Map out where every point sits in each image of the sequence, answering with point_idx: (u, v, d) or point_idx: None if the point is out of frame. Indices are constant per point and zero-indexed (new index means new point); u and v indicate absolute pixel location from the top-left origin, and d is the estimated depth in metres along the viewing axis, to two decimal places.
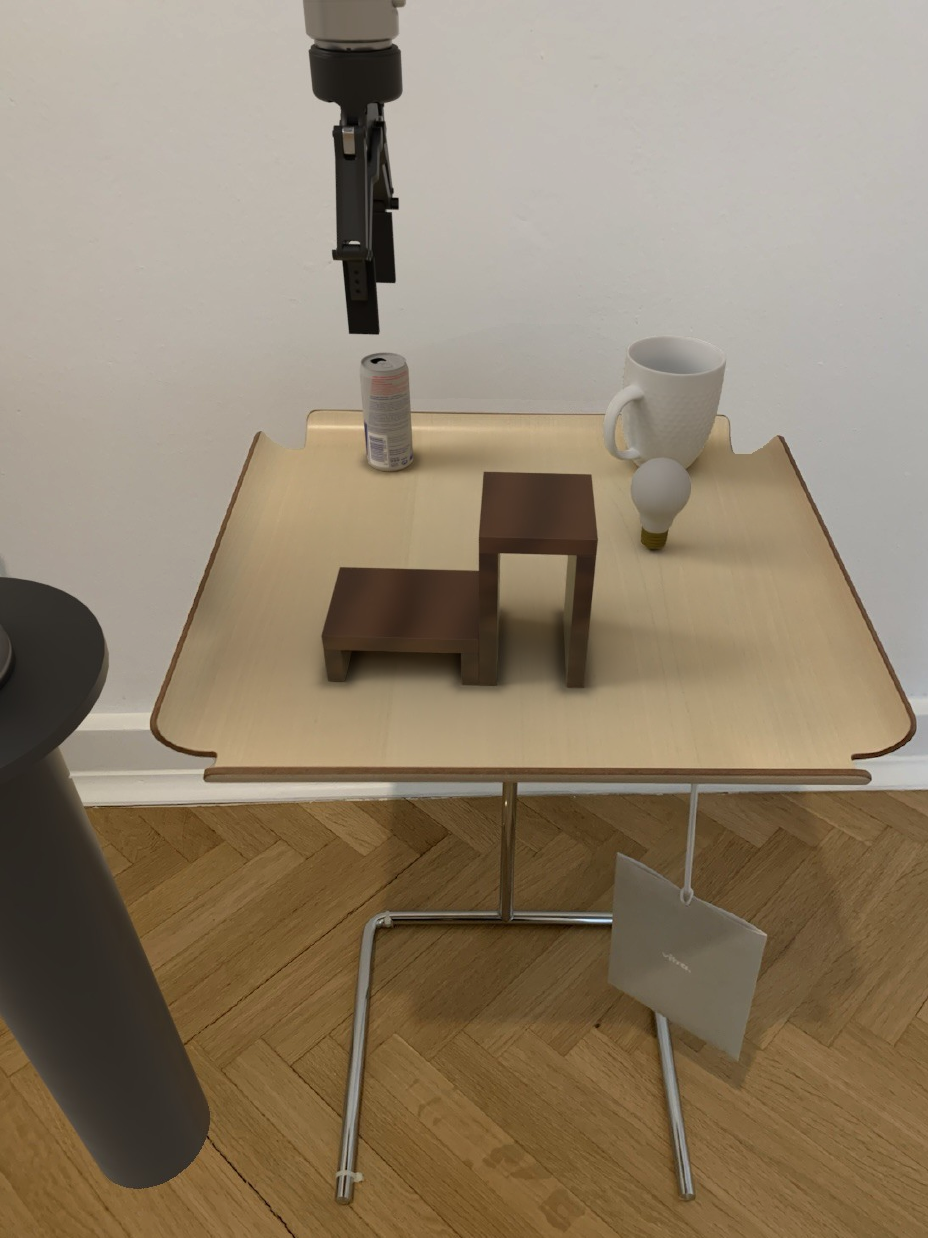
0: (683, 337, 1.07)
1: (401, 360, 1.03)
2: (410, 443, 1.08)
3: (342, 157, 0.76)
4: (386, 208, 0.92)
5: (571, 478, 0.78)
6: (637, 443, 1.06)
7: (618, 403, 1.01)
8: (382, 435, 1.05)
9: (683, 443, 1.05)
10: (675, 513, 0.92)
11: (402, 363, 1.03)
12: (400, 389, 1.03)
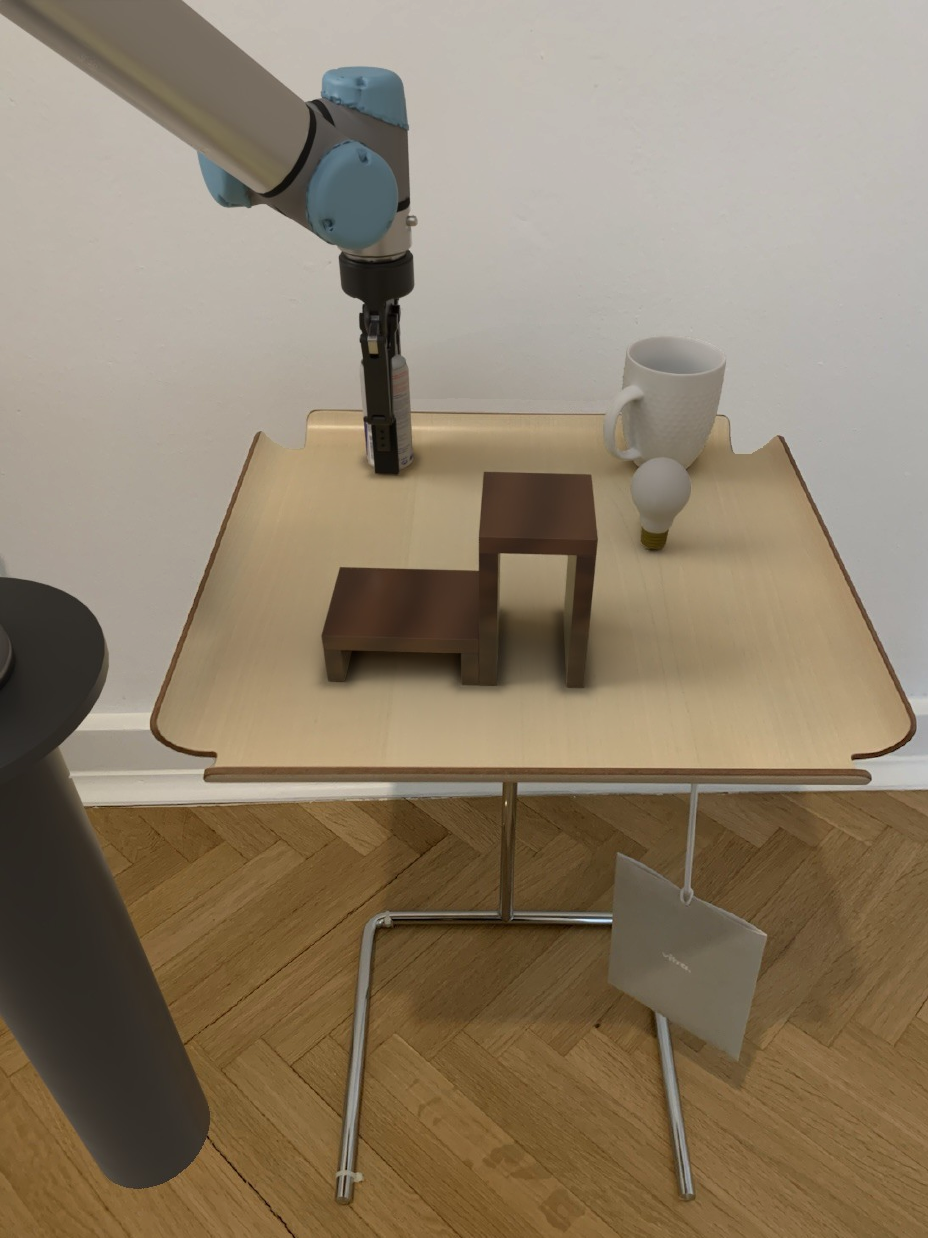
0: (683, 337, 1.07)
1: (401, 360, 1.03)
2: (410, 443, 1.08)
3: (368, 356, 0.96)
4: None
5: (571, 478, 0.78)
6: (637, 443, 1.06)
7: (618, 403, 1.01)
8: None
9: (683, 443, 1.05)
10: (675, 513, 0.92)
11: (402, 363, 1.03)
12: (400, 389, 1.03)
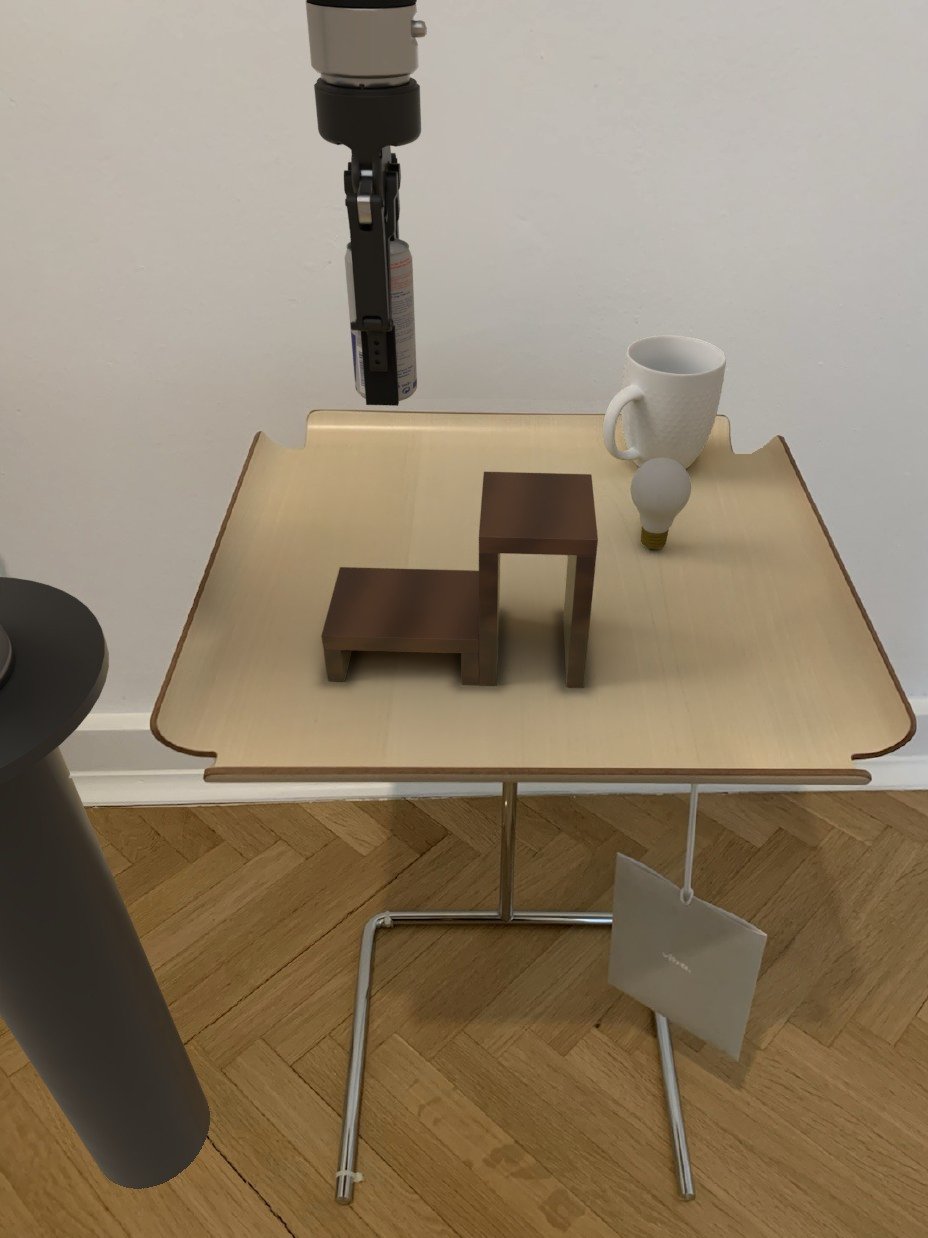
0: (683, 337, 1.07)
1: (402, 246, 0.75)
2: (414, 364, 0.80)
3: (357, 228, 0.68)
4: None
5: (571, 478, 0.78)
6: (637, 443, 1.06)
7: (618, 403, 1.01)
8: None
9: (683, 443, 1.05)
10: (675, 513, 0.92)
11: (404, 249, 0.75)
12: (402, 284, 0.75)
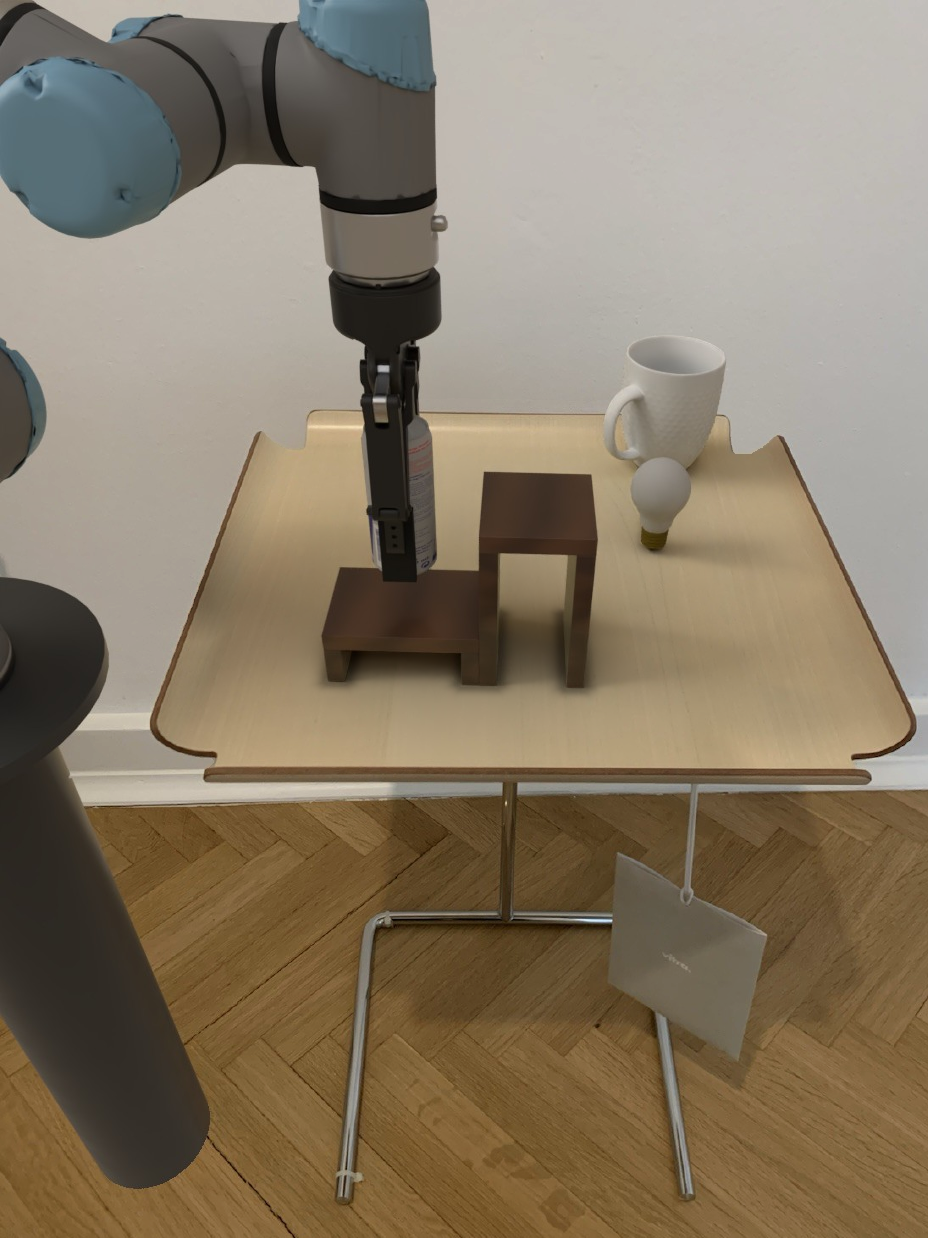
0: (683, 337, 1.07)
1: (421, 424, 0.72)
2: (433, 538, 0.76)
3: (373, 426, 0.64)
4: None
5: (571, 478, 0.78)
6: (637, 443, 1.06)
7: (618, 403, 1.01)
8: None
9: (683, 443, 1.05)
10: (675, 513, 0.92)
11: (423, 429, 0.71)
12: (421, 467, 0.71)
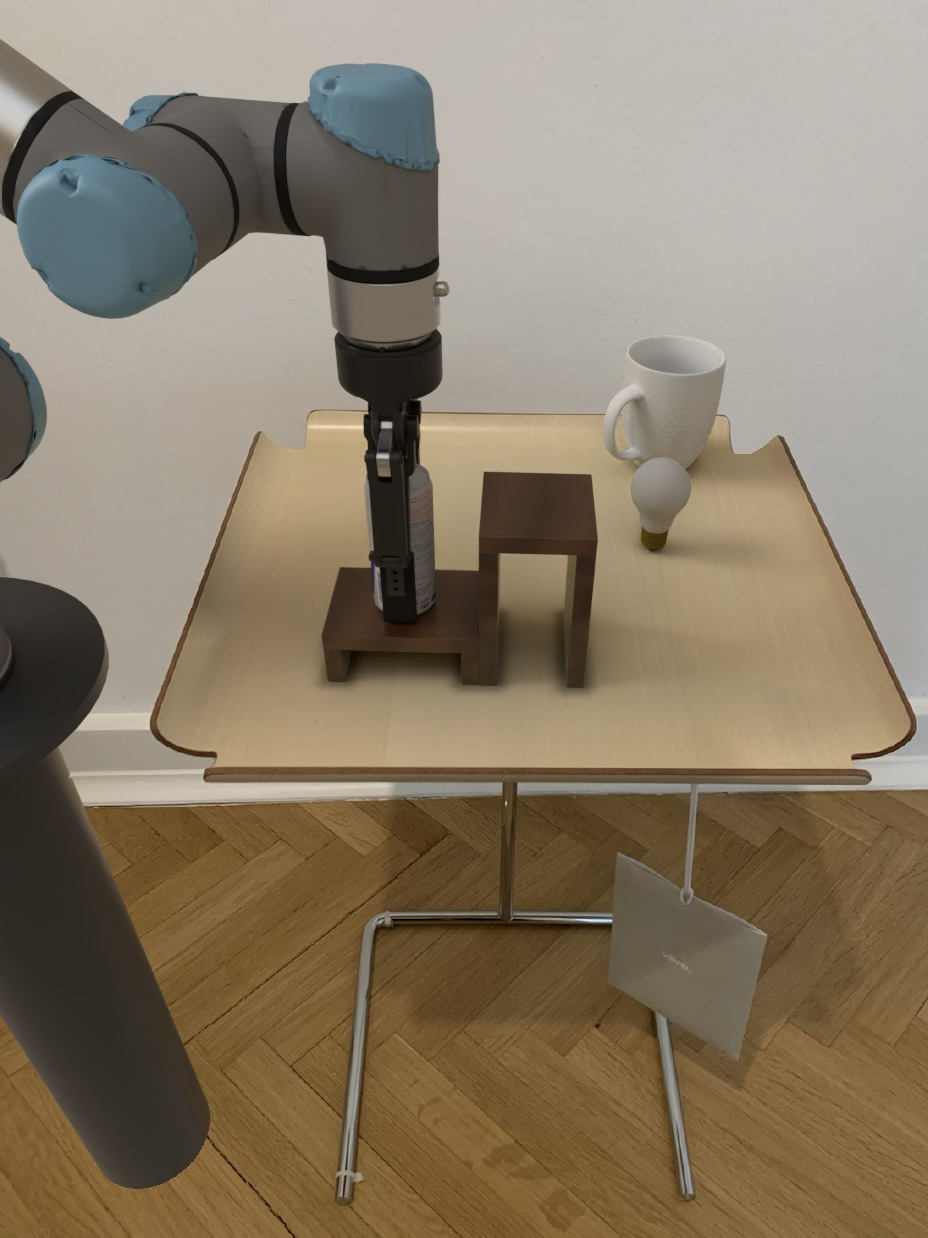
0: (683, 337, 1.07)
1: (422, 473, 0.74)
2: (433, 580, 0.79)
3: (376, 480, 0.67)
4: None
5: (571, 478, 0.78)
6: (637, 443, 1.06)
7: (618, 403, 1.01)
8: None
9: (683, 443, 1.05)
10: (675, 513, 0.92)
11: (424, 478, 0.74)
12: (422, 514, 0.74)
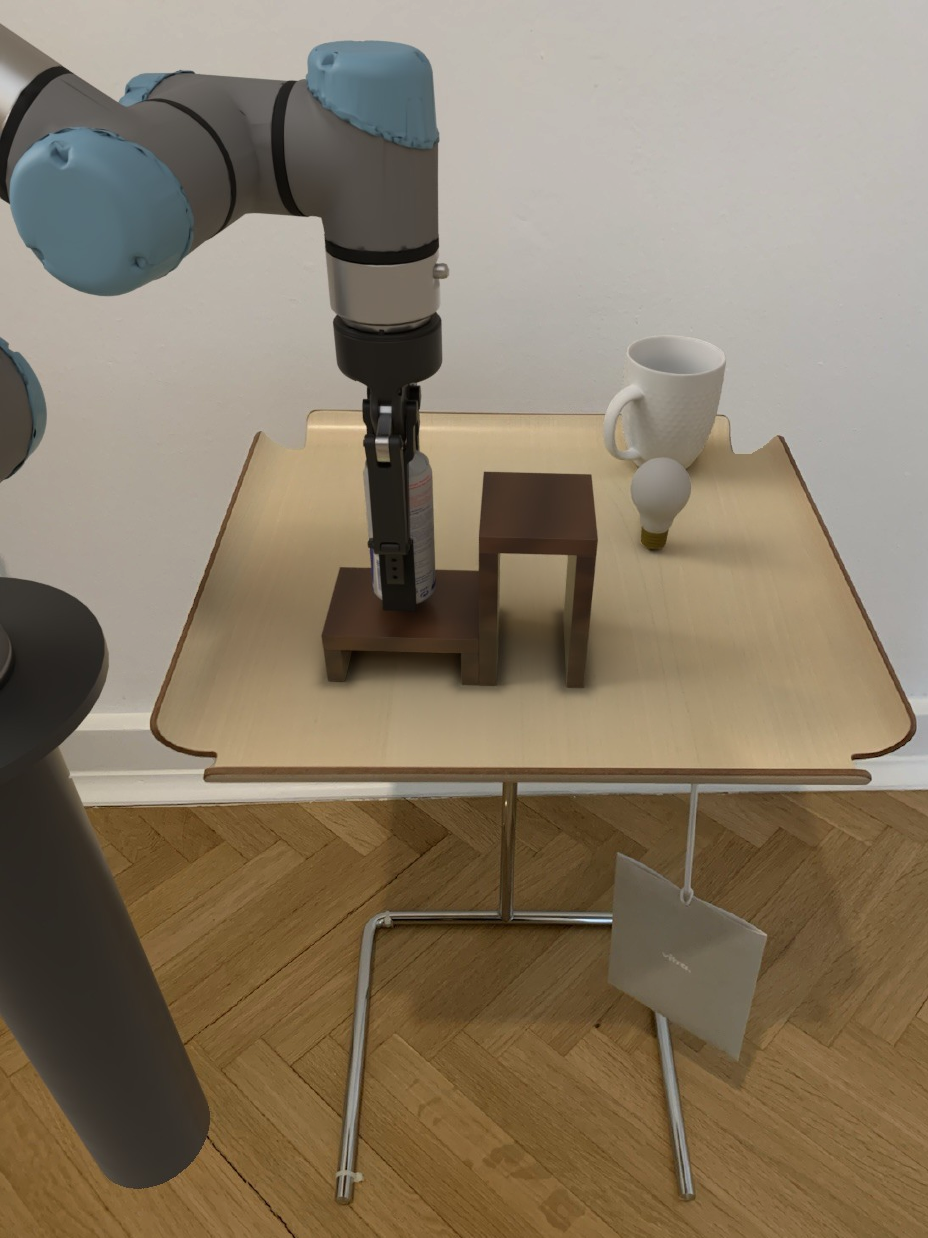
0: (683, 337, 1.07)
1: (422, 460, 0.73)
2: (432, 568, 0.78)
3: (375, 466, 0.66)
4: None
5: (571, 478, 0.78)
6: (637, 443, 1.06)
7: (618, 403, 1.01)
8: None
9: (683, 443, 1.05)
10: (675, 513, 0.92)
11: (424, 464, 0.73)
12: (421, 501, 0.73)
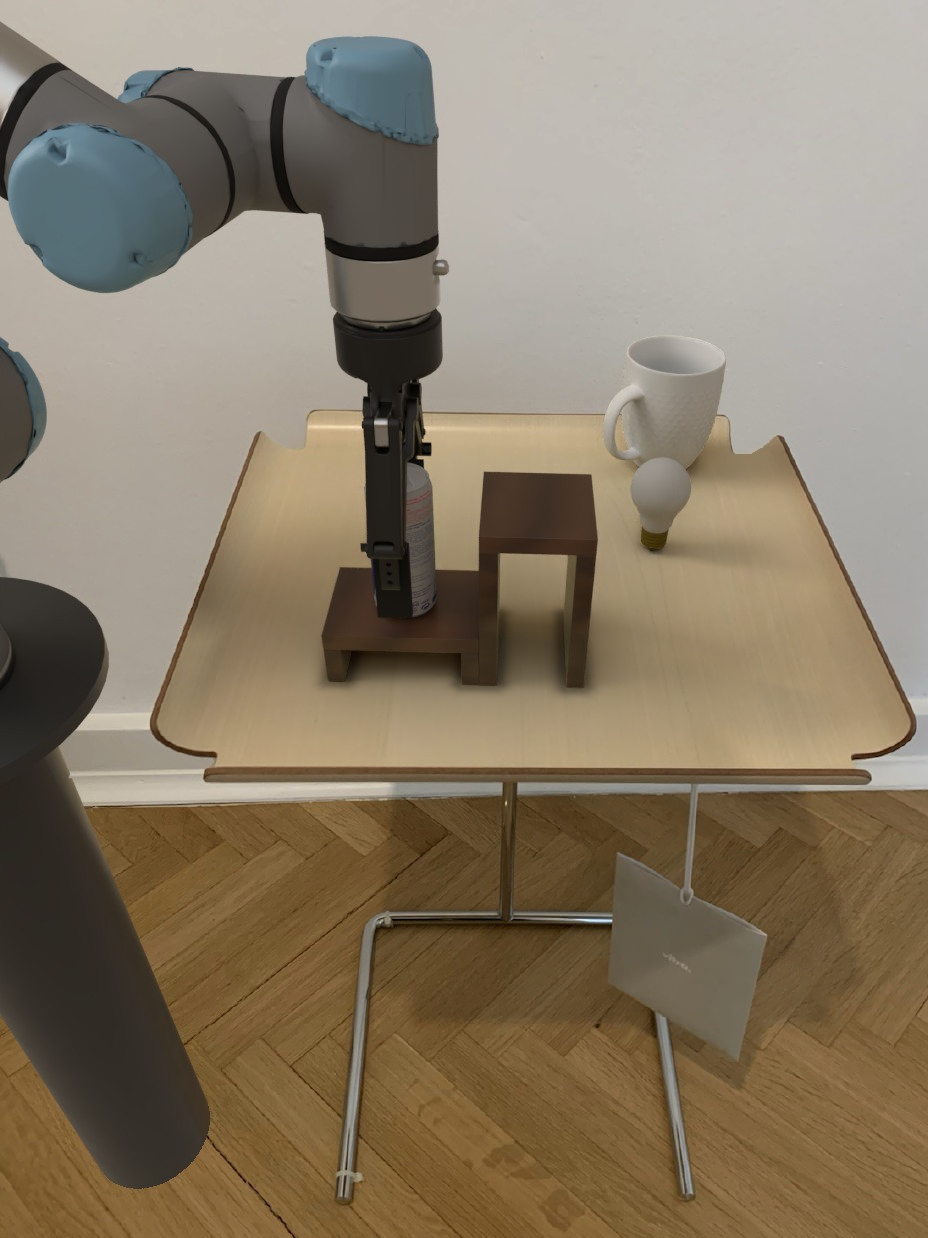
0: (683, 337, 1.07)
1: (422, 474, 0.74)
2: (433, 581, 0.79)
3: (373, 450, 0.64)
4: (417, 455, 0.80)
5: (571, 478, 0.78)
6: (637, 443, 1.06)
7: (618, 403, 1.01)
8: None
9: (683, 443, 1.05)
10: (675, 513, 0.92)
11: (424, 479, 0.74)
12: (422, 515, 0.74)
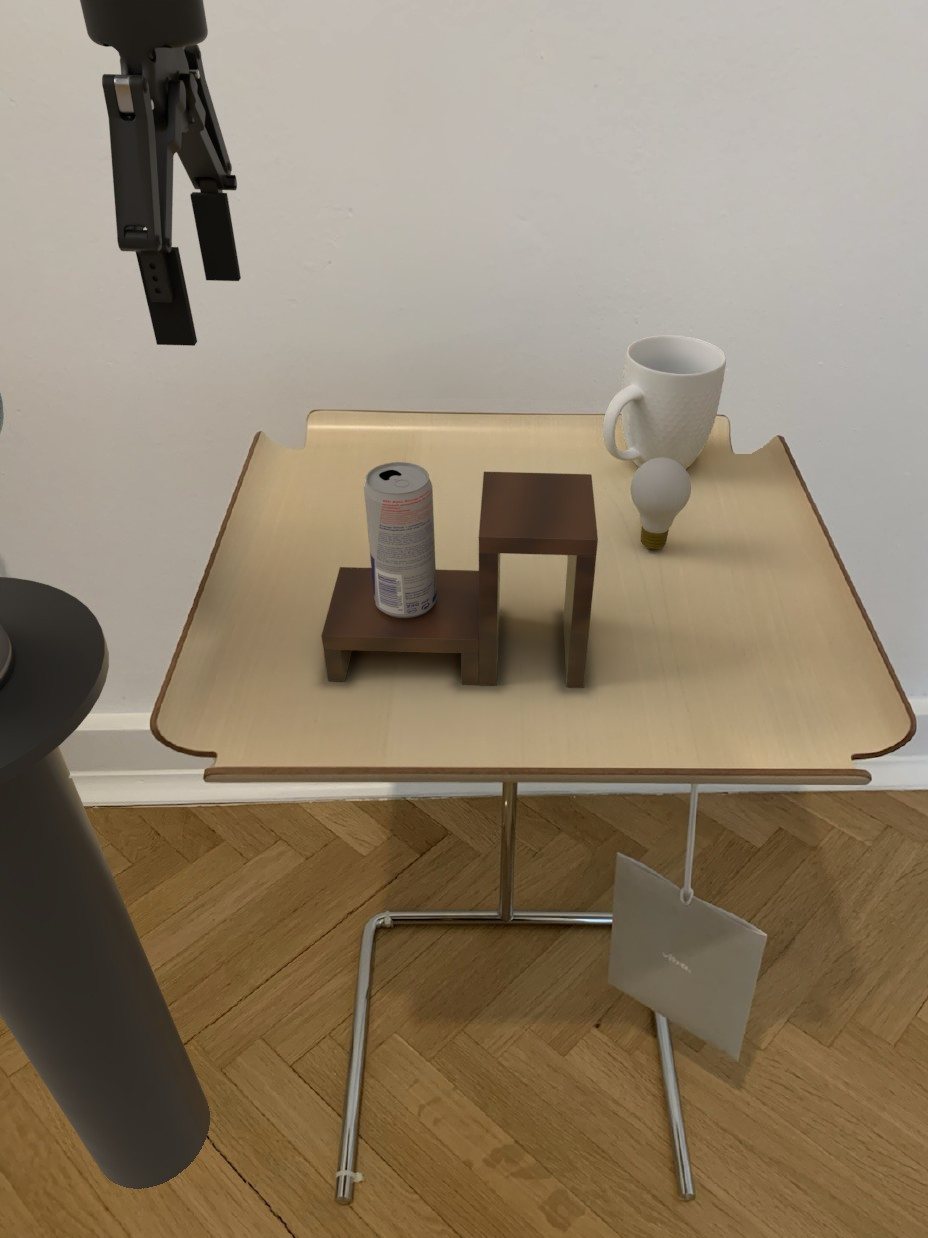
0: (683, 337, 1.07)
1: (422, 474, 0.74)
2: (433, 581, 0.79)
3: (117, 116, 0.58)
4: (220, 188, 0.74)
5: (571, 478, 0.78)
6: (637, 443, 1.06)
7: (618, 403, 1.01)
8: (395, 575, 0.76)
9: (683, 443, 1.05)
10: (675, 513, 0.92)
11: (424, 479, 0.74)
12: (422, 515, 0.74)
